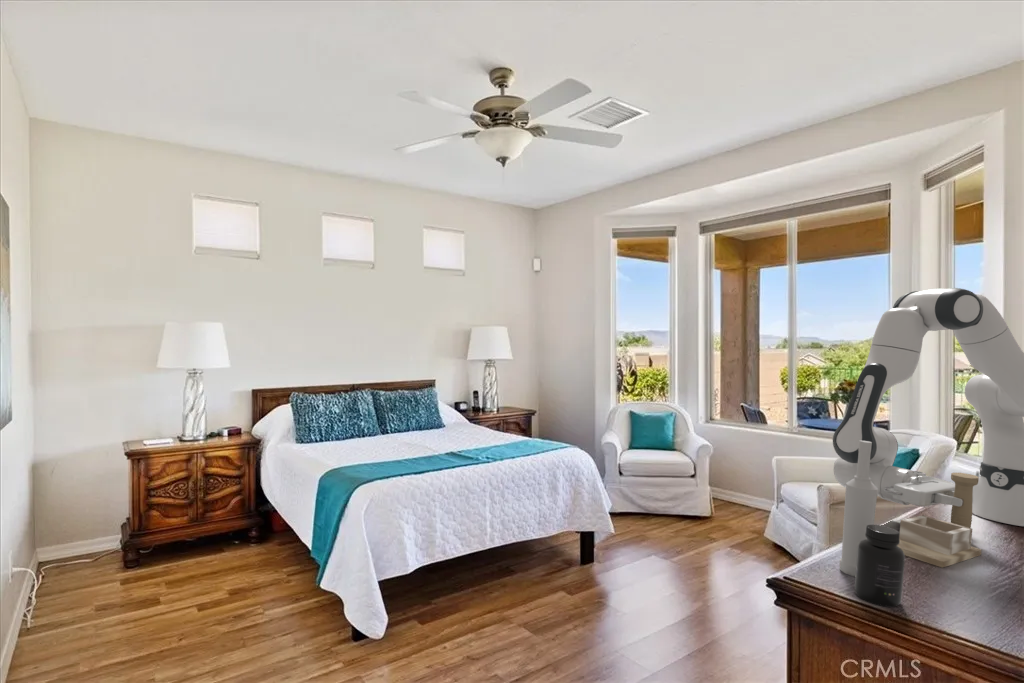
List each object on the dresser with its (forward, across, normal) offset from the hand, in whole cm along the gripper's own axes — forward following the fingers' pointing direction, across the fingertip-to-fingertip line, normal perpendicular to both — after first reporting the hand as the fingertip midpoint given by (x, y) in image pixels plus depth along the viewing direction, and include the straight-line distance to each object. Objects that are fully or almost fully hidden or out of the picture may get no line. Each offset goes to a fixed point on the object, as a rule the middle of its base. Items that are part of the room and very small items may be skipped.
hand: (967, 501), depth 133 cm
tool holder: (0, -17, +9) cm, 19 cm away
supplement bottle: (+8, -55, +9) cm, 56 cm away
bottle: (0, -47, +9) cm, 48 cm away
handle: (-1, 0, +9) cm, 9 cm away
